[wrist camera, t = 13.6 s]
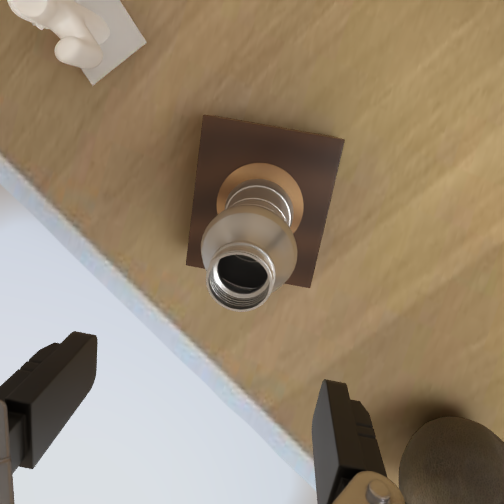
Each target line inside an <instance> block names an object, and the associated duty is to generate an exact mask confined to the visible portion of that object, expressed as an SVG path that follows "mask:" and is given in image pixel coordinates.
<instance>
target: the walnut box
mask: <svg viewBox="0 0 504 504" xmlns="http://www.w3.org/2000/svg"><path fill="white" fill-rule="evenodd" d="M344 141H345V140H344V139H341V138H338V137H333V136H327V135H322V134H316V133H310V132H304V131H299V130H293V129H287V128H282V127H276V126H270V125H264V124H259V123H253V122H247V121H242V120H236V119H230V118H224V117H219V116H211V115H203V123H202V131H201V140H200V148H199V157H198V165H197V174H196V183H195V191H194V200H193V208H192V217H191V225H190V234H189V243H188V251H187V260H186V265H188V266H193V267H199V268H204V269H205V267H204V264H203V260H202V255H201V241H202V236H203V234H204V232H205V229H206V227H207V226H208V225H209V223H210V222H211V221H212V220H213V219H214V218H215V217H216V216H217V215H218V214H220V213H221V212H222V211H224V210H225V204H226V200H227V198H228V195H229V194H230V192H231V191H232V190H233V189H234V188H235V187H236V186H237V185H238V184H240V183H242V182H244V181H247V180H250V179H265V180H269V181H272V182H274V183H276V184H278V185H279V186H280V187H282V188H283V189H284V190H285V192H286V193H287V194H288V196H289V197H290V199H291V202H292V205H293V211H294V213H293V221H292V224H291V226H290V229H291V230H292V232H293V235H294V238H295V241H296V245H297V262H296V265H295V269H294V271H293V272H292V274H291V276H290V277H289V278H288V280H287V281H286V282H285V284H290V285H296V286H301V287H306V288H310V286H311V282H312V278H313V273H314V269H315V265H316V260H317V256H318V252H319V248H320V243H321V239H322V235H323V231H324V226H325V222H326V218H327V214H328V209H329V205H330V201H331V196H332V192H333V188H334V184H335V179H336V175H337V171H338V167H339V162H340V158H341V154H342V150H343V145H344Z"/></svg>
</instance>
